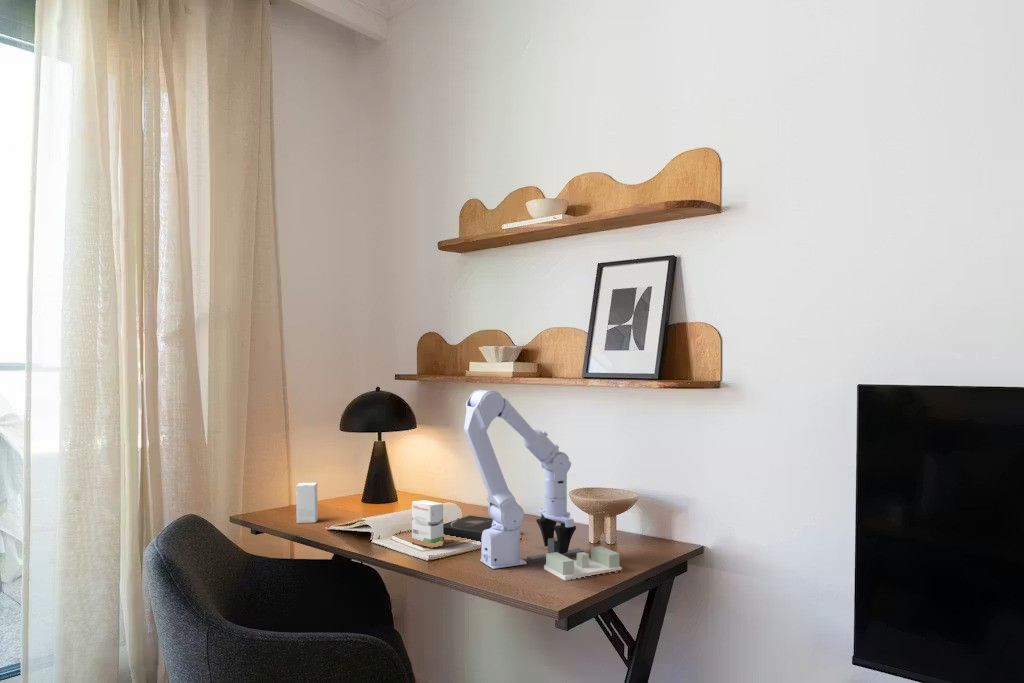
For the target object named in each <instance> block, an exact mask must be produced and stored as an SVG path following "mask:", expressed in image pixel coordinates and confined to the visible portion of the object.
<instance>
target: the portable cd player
mask: <svg viewBox="0 0 1024 683" xmlns="http://www.w3.org/2000/svg"><path fill="white" fill-rule="evenodd" d="M492 522H493V519H492V518H491V517H483V516H477V515H467V516H463V517H461V518H459V519H458V518H457V519H454V520H452V521H449V522H446V523H443V534H445V535H450V536H456V537H461V538H467V539H471V540H476V541H480V542H481V538H482V533H483V531H484V530H486V529H490V528H491V527H492Z"/></svg>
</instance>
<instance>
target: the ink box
mask: <svg viewBox="0 0 1024 683" xmlns="http://www.w3.org/2000/svg"><path fill="white" fill-rule="evenodd" d="M443 524H444V503H442V502H436V501H433V500H432V501H431V500H425V499H422V500H413V501H411V536H412V537H411V539H412V538H414V539H417V540H421V541H424V542H428V543H436V542H439V541H443V540H444V537H443ZM444 541H445V540H444Z"/></svg>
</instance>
